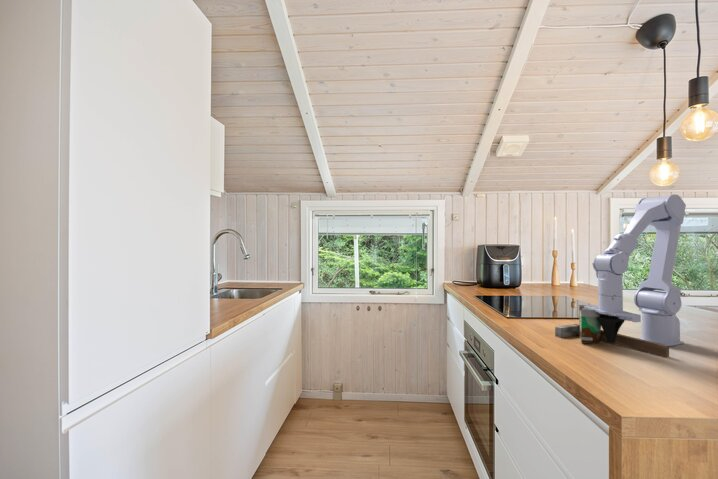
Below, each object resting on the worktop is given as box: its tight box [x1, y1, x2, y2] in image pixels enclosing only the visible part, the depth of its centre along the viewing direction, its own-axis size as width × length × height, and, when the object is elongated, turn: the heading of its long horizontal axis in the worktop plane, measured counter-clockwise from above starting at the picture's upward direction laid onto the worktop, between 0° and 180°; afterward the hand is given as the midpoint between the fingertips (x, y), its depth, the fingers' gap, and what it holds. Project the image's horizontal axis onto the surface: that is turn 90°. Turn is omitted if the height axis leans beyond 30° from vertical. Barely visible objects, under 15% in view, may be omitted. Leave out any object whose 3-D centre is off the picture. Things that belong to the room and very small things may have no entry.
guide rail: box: [554, 323, 670, 359], centre depth 101 cm, size 10×26×3 cm, turn 21°
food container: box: [578, 304, 602, 344], centre depth 106 cm, size 12×6×10 cm, turn 150°
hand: (610, 342), depth 100 cm, fingers closed
